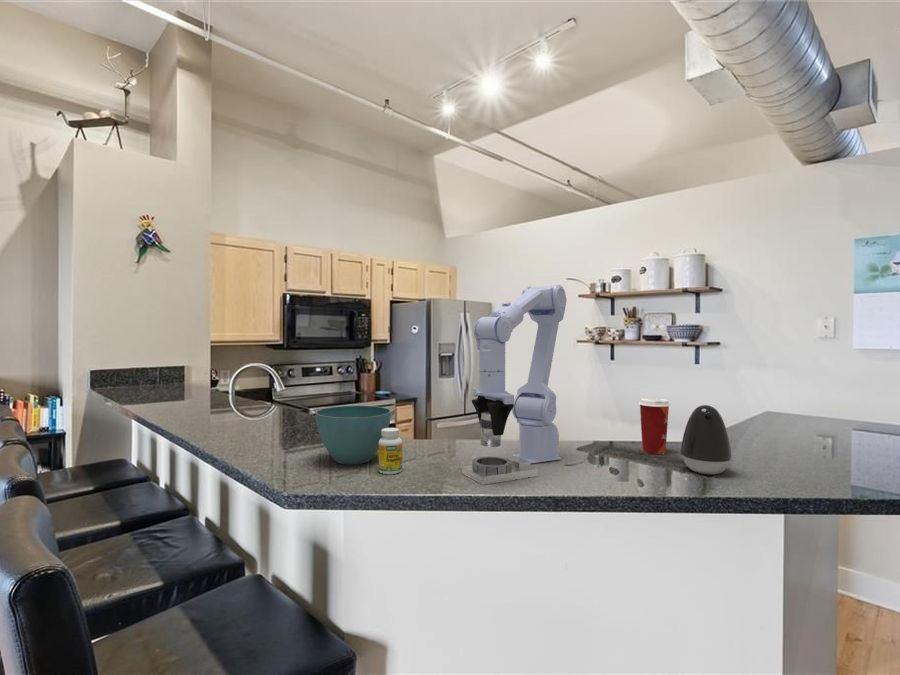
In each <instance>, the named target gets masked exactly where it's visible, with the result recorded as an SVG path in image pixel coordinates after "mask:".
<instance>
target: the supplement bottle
mask: <svg viewBox="0 0 900 675" xmlns="http://www.w3.org/2000/svg"><path fill="white" fill-rule="evenodd" d="M381 435H382V436H383V438H381V439H380V440H379V450H378V472H379V473H380V474H382V473H383V474H382V475H396V474H399V473H401V472H402V471H403V440H402V439H401V437H399V435H400V429H399V428H397V427H388V428H384V429H382V430H381Z"/></svg>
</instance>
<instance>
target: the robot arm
mask: <svg viewBox="0 0 900 675" xmlns="http://www.w3.org/2000/svg"><path fill="white" fill-rule="evenodd" d="M566 305H567V294H566V291H565V289H564V287H563V285H561V284H556V285H542V286H526V288H523V289H522V292H521V295H520V297H518V298H517V299H516V300H515V301H514V302H512V301H511V302H510V301H504V302H503V303H502V304H501V307H499V308H498V309H497V310H493V311H492V312H491V314H490V315H488V316H482V317H480V318H479V319H478V320H477V321H476V323H475V324H474V329H473V335H474V338H475V341H476V348H477V350H478V351H479V352H478V353H479V358H478V359H479V360H478V361H479V362H478V366H479V368H478V369H479V370H478V373H479V374H478V375H479V378H478V379H479V380H478V382H479V384H478V387H472V397H477V398H475V399H471V404H472V405H473V407H474V410H475V411H476V414H477V418H478V422H479V424H480V420H481V412H483V411H487V410H489V411H490V415H491V419H492V431H493V435H494V436H498V435H501V436H504V432H505V428H506V424H507V423H508V422H507V421H508V417H509V416H510V414H511V412H512V415H513V418H514V419H516V423H518V424H519V425H518V426H519V427H518V429H519V431H518V432H519V434H518V439H519V440H518V441H519V446H518V447H519V448H518V451H519V452H518V453H513V454H512V455H511V456H512V457H517V456H518V457H520V458H523V459H525V460H528V461H530V464H538V463H544V462H552V461H559V460H561V459H562V458H561V457H560V456H559V453H560V450H559V449H560V447H559V446H560V445H559V444H560V440H559V439H560V438H559V437H560V434H559V430H558V427H557V425H556V424H555V423H553V421H554V420H555V418H556V415H557V395H556V394H555V392H554V391H553V390H552V389H551V388H550V387H549V382H550V375H551V371H552V370H551V369H552V363H553V357H554V352H555V347H556V341H557V335H558V329H559V324H560V322H562V321H563V320H564V317H565V316H564V315H565V312H566V307H567V306H566ZM526 313H527V314H528V315H529V317H530V320H531V321H533V322H535V323H537V331H536V337H535V342H534V347H533V352H532V356H531V357H532V358H531V361H530V368H529V371H528V372H529V373H528V377H527V378H528V379H527V382H526V383H525V384H523V385H522V386H520V387H519V388H518V389H517V392H516V395H515V394H512V393H510V392H508V391H506V343H507V342H509V340H510V339H511V335H512V332H513V331H514V329H515V328H516V327H517V326H519V325H520V324H521V323H522V322H523V321H524V315H525V314H526Z"/></svg>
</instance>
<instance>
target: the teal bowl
mask: <svg viewBox="0 0 900 675" xmlns="http://www.w3.org/2000/svg"><path fill="white" fill-rule="evenodd" d="M391 416H392V409H390V408H387V407H383V406H377V405H339V406H331V407H330V406H329V407H324V408H320V409H317V410H315V422H316V427H317V431H318V434H319V437H320V440H321V443H322V444H323V446H324V448H325V450H326V451H327V452H328V453H329V455H330V456H331V458H332V459H333V460H334V461H335V462H337V463H338V464H342V465H360V464H361V465H362V464H366V463H368V462H370V461H371V460H372V459H373V458H374V456H375V455H376V454H377V452H379V440H380V439H381V438H383V436H382V435H381V430H382V429H384V428H390V427H389V426H390V423H391ZM365 462H366V463H365Z"/></svg>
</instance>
